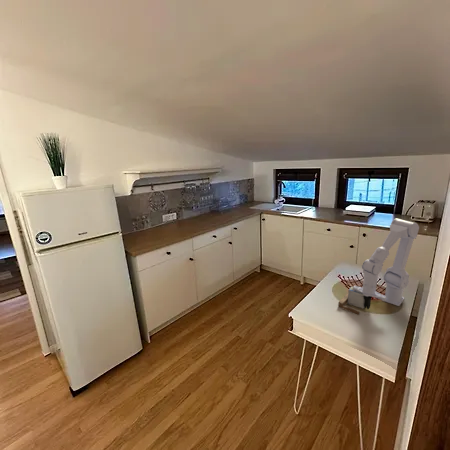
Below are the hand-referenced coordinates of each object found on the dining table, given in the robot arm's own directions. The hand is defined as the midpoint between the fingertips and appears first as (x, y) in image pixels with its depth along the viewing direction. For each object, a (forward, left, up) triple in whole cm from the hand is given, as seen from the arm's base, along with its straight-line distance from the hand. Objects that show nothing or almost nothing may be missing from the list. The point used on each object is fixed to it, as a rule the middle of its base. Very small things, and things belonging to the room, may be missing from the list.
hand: (366, 307), depth 128 cm
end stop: (0, -6, -2) cm, 7 cm away
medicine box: (-1, -5, -2) cm, 6 cm away
